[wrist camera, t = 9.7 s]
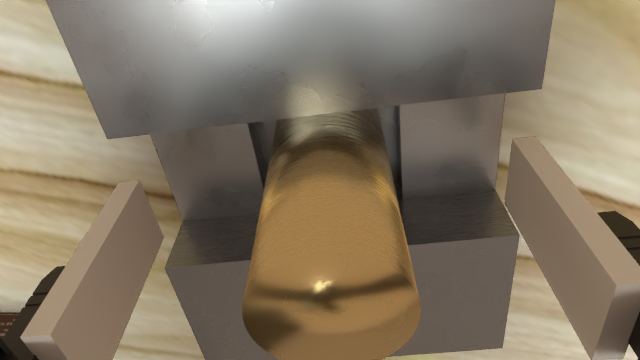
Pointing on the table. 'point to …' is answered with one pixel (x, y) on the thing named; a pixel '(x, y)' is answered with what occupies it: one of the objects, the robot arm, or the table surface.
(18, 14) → the table surface
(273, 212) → the gold cylinder
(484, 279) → the jig
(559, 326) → the table surface
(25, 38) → the table surface
